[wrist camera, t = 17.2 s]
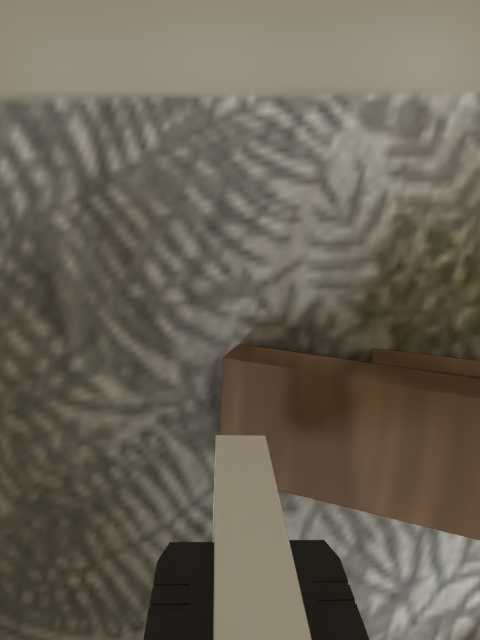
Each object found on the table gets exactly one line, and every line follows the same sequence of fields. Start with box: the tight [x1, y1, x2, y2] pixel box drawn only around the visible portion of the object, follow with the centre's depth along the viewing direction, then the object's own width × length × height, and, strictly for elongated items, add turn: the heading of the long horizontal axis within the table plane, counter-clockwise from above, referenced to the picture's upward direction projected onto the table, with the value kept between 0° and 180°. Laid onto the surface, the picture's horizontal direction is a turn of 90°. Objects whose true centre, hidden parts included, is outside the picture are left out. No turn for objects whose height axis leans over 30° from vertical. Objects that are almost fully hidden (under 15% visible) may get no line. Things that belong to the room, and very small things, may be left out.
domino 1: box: [219, 344, 480, 540], centre depth 15 cm, size 2×5×10 cm
